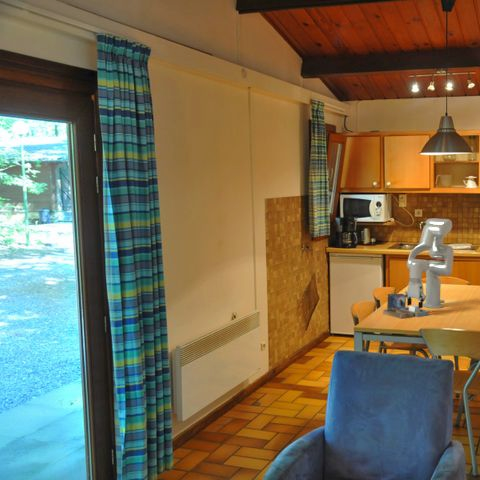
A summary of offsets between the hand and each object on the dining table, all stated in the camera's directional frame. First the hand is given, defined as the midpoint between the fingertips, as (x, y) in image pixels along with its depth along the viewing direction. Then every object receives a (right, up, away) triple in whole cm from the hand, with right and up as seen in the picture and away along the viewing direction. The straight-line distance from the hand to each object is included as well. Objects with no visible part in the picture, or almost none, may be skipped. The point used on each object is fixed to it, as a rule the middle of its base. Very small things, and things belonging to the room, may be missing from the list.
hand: (414, 306), depth 454 cm
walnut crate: (-12, -6, -5) cm, 14 cm away
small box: (-9, -4, +13) cm, 17 cm away
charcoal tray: (0, -5, 0) cm, 5 cm away
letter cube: (0, -5, 0) cm, 5 cm away
